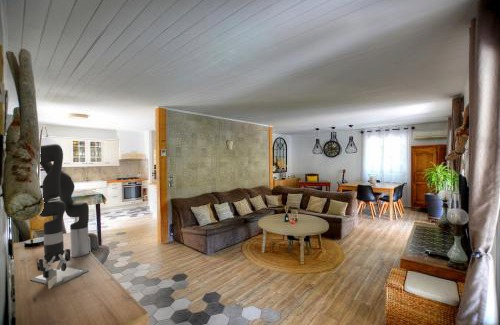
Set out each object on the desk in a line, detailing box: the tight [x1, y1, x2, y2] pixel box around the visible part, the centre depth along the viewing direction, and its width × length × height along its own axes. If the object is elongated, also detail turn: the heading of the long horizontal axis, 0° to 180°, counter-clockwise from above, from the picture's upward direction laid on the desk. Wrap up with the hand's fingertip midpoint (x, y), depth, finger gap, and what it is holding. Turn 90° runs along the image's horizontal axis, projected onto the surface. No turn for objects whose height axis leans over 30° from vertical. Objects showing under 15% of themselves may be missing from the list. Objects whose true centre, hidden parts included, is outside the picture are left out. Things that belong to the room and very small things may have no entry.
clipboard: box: [29, 265, 90, 288], centre depth 123 cm, size 16×20×2 cm
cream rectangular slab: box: [47, 276, 57, 290], centre depth 113 cm, size 5×1×4 cm, turn 9°
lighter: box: [46, 260, 64, 281], centre depth 118 cm, size 7×2×8 cm, turn 131°
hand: (55, 274), depth 118 cm, fingers closed on lighter, 7 cm apart
